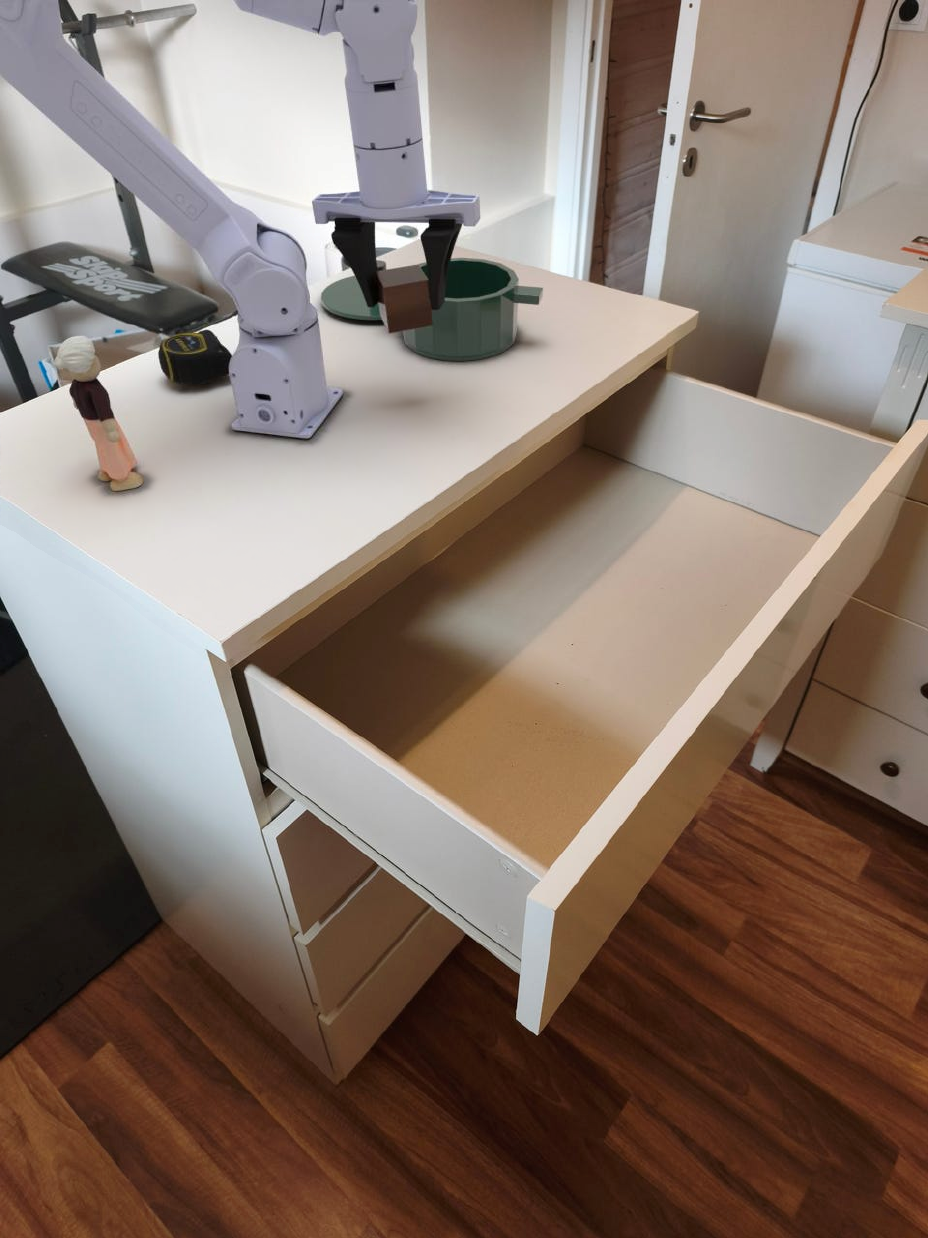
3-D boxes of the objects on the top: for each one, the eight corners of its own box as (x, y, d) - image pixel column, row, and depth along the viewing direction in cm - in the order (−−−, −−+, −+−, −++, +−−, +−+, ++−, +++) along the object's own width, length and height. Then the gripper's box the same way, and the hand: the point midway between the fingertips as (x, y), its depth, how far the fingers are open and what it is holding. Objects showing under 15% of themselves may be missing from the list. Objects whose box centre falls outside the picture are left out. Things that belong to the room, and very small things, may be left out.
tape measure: (239, 382, 88) (233, 347, 85) (173, 397, 85) (164, 362, 83) (221, 357, 92) (214, 323, 90) (157, 370, 90) (148, 336, 87)
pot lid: (419, 329, 97) (417, 289, 94) (305, 320, 100) (299, 280, 97) (447, 285, 107) (446, 247, 104) (343, 277, 110) (339, 240, 107)
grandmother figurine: (163, 481, 74) (123, 341, 65) (126, 501, 72) (79, 358, 63) (111, 453, 77) (66, 317, 69) (74, 471, 75) (23, 332, 67)
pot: (528, 368, 90) (530, 307, 85) (366, 352, 93) (360, 293, 89) (547, 321, 99) (551, 264, 94) (399, 308, 102) (396, 252, 98)
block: (433, 325, 78) (429, 279, 75) (388, 333, 77) (382, 287, 75) (422, 308, 81) (418, 263, 78) (380, 316, 80) (373, 271, 78)
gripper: (485, 126, 71) (492, 289, 80) (323, 128, 74) (347, 284, 83) (464, 150, 66) (474, 320, 75) (291, 151, 69) (321, 314, 78)
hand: (406, 304), depth 79 cm, fingers closed on block, 5 cm apart
